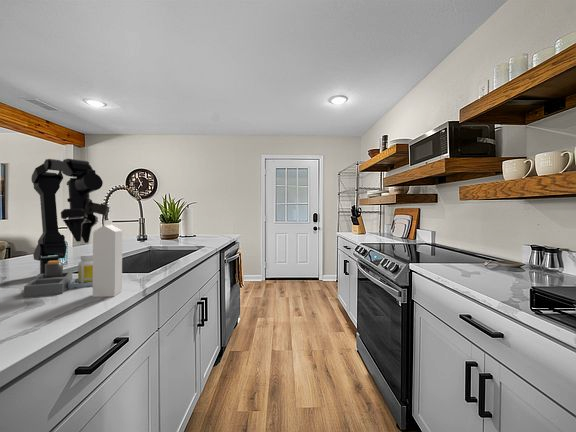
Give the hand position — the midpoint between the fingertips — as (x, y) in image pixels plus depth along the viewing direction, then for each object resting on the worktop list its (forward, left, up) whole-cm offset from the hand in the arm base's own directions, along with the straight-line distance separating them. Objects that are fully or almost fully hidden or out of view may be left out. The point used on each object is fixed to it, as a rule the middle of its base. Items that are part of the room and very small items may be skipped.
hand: (82, 242), depth 106 cm
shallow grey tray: (+1, -8, -14) cm, 17 cm away
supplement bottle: (-1, +1, -14) cm, 15 cm away
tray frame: (-1, +1, -14) cm, 14 cm away
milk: (+17, +8, -14) cm, 24 cm away
